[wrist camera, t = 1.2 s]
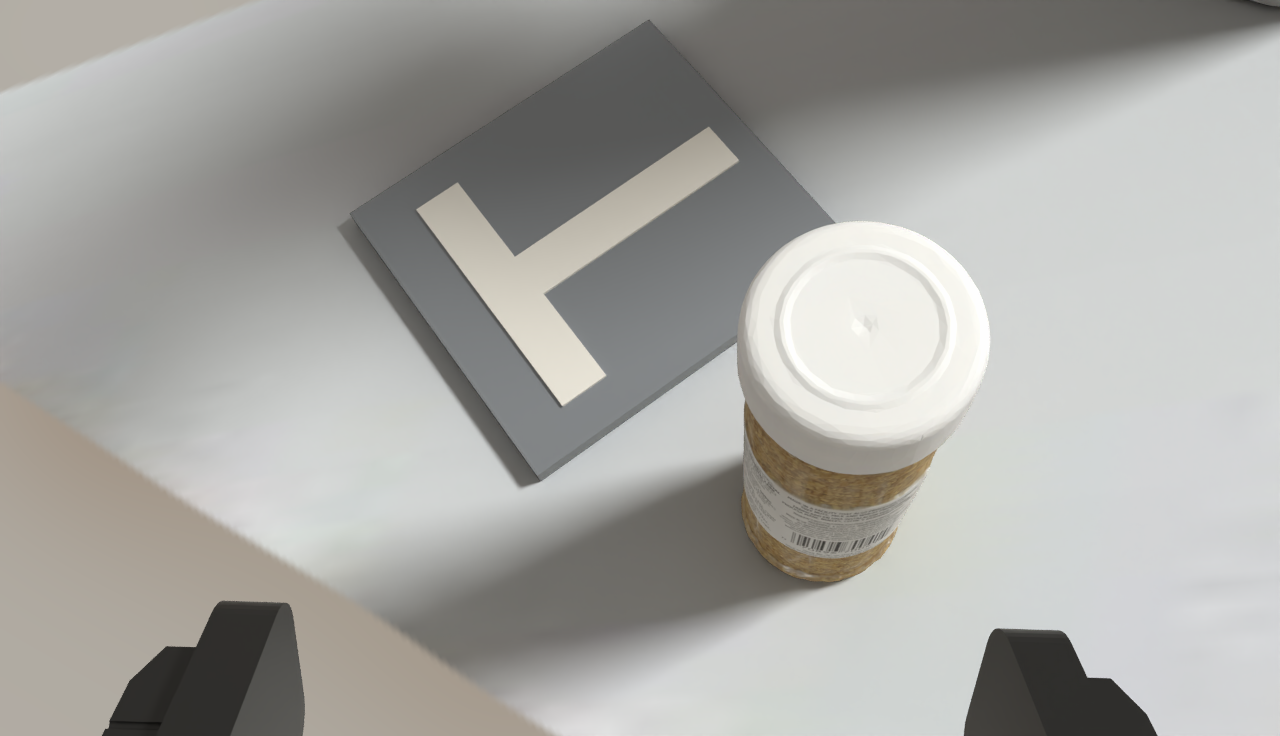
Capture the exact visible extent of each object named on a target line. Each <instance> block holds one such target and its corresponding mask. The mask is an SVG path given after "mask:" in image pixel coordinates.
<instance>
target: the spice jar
mask: <svg viewBox="0 0 1280 736" xmlns="http://www.w3.org/2000/svg"><path fill="white" fill-rule="evenodd" d="M989 350H990V329H989V322H988V317H987V313H986V309H985V306H984V303H983V300H982V298H981V295H980V292H979V290H978V289H977V287H976V286H975V284H974V283H973V281H972V279H971V278H970V276H969V275H968V273H967V272H966V271H965V269H964V268H963V267H962V266H961V265H960V264H959V263H958V262H957V261H956V260H955V259H954V258H953V257H952V256H951V255H950V254H949V253H948V252H947V251H945V250H944V249H943V248H942V247H940V246H939V245H937V244H936V243H934V242H933V241H931V240H929V239H928V238H926V237H924V236H922V235H920V234H918V233H916V232H913V231H910V230H908V229H905V228H902V227H899V226H895V225H890V224H885V223H880V222H869V221H851V222H842V223H836V224H831V225H826V226H823V227H820V228H817V229H814V230H811V231H809V232H807V233H805V234H803V235H801V236H799V237H797V238H795V239H793V240H792V241H790V242H789V243H787V244H785V245H784V246H783V247H781V248H780V249H779V250H778V251H777V252H776V253H775V254H774V255H773V256H771V257H770V258H769V259H768V260H767V261H766V263H765V264H764V265H763V266H762V268H761V269H760V270H759V271H758V273H757V274H756V276H755V277H754V279H753V280H752V282H751V284H750V286H749V288H748V290H747V293H746V295H745V298H744V301H743V304H742V307H741V312H740V318H739V323H738V335H737V366H738V376H739V380H740V384H741V388H742V391H743V394H744V397H745V404H744V460H743V479H744V490H743V494H742V499H741V509H742V517H743V520H744V524H745V528H746V531H747V534H748V536H749V538H750V539H751V541H752V542H753V543H754V545H755V547H756V548H757V550H758V551H759V552H760V553H761V555H762V556H763V557H764V558H765V559H766V560H767V561H768V562H770V563H771V564H772V565H773V566H775V567H777V568H778V569H780V570H781V571H782V572H784V573H787V574H789V575H791V576H793V577H795V578H799V579H806V580H809V581H825V582H834V581H840V580H842V579H845V578H849V577H852V576H855V575H857V574H859V573H861V572H863V571H864V570H866V569H867V568H868V567H869V566H871V565H872V564H873V563H874V562H875V561H877V560H879V559H880V558H881V557H882V555H883V554H884V553H885V551H886V550H887V548H888V547H889V546H890V544H891V542H892V540H893V538H894V536H895V534H896V531H897V528H898V525H899V523H900V522H901V520H902V518H903V517H904V515H905V513H906V511H907V509H908V508H909V506H910V504H911V503H912V501H913V499H914V498H915V496H916V494H917V492H918V490H919V488H920V486H921V485H922V483H923V481H924V479H925V478H926V476H927V473H928V471H929V468H930V464H931V461H932V458H933V456H934V454H935V452H936V450H937V449H938V448H939V447H940V446H941V445H942V444H944V443H945V442H946V440H947V439H948V438H949V437H950V436H951V435H952V434H953V433H954V432H955V431H956V429H957V428H958V427H959V425H960V424H961V422H962V420H963V419H964V417H965V415H966V413H967V412H968V410H969V408H970V406H971V404H972V402H973V400H974V398H975V396H976V393H977V391H978V389H979V387H980V385H981V383H982V380H983V377H984V374H985V371H986V368H987V364H988V358H989Z"/></svg>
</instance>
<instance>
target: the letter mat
mask: <svg viewBox="0 0 1280 736" xmlns="http://www.w3.org/2000/svg"><path fill="white" fill-rule="evenodd" d="M350 215H351V216H352V218H353V219H354V221H355V222H356V224H357V225H358V227H359V228H360V229H361V231H362V232H363V234H364V235H365V236H366V238H367V239H368V241H369V242H370V243H371V245H372V246H373V248H374V249H375V250H376V252H377V253H378V255H379V256H380V257H381V259H382V260H383V262H384V263H385V264H386V266H387V267H388V268H389V270H390V271H391V273H392V274H393V275H394V277H395V278H396V280H397V281H398V282H399V284H400V285H401V287H402V288H403V289H404V291H405V292H406V294H407V295H408V296H409V298H410V299H411V301H412V302H413V303H414V305H415V306H416V308H417V309H418V310H419V312H420V313H421V315H422V316H423V317H424V319H425V320H426V322H427V323H428V324H429V326H430V327H431V329H432V330H433V331H434V333H435V334H436V336H437V337H438V338H439V340H440V341H441V343H442V344H443V345H444V347H445V348H446V350H447V351H448V352H449V354H450V355H451V357H452V358H453V359H454V361H455V362H456V364H457V365H458V366H459V368H460V369H461V371H462V372H463V373H464V375H465V376H466V378H467V379H468V380H469V382H470V383H471V385H472V386H473V387H474V389H475V390H476V392H477V393H478V394H479V396H480V397H481V399H482V400H483V401H484V403H485V404H486V406H487V407H488V408H489V410H490V411H491V413H492V414H493V415H494V417H495V418H496V420H497V421H498V422H499V424H500V425H501V427H502V428H503V429H504V431H505V432H506V434H507V435H508V436H509V438H510V439H511V441H512V442H513V443H514V445H515V446H516V448H517V449H518V450H519V452H520V453H521V455H522V456H523V457H524V459H525V460H526V462H527V463H528V464H529V466H530V467H531V469H532V470H533V471H534V473H535V474H536V475H537V477H538V478H539V480H540V481H542V480H543V479H545V478H546V477H547V476H549V475H550V474H552V473H553V472H555V471H556V470H557V469H559V468H560V467H562V466H563V465H564V464H566V463H567V462H569V461H570V460H571V459H573V458H574V457H576V456H577V455H578V454H580V453H581V452H583V451H584V450H585V449H587V448H588V447H590V446H591V445H593V444H594V443H595V442H597V441H598V440H600V439H601V438H602V437H604V436H605V435H607V434H608V433H609V432H611V431H612V430H614V429H615V428H616V427H618V426H619V425H621V424H622V423H624V422H625V421H626V420H628V419H629V418H631V417H632V416H633V415H635V414H636V413H638V412H639V411H640V410H642V409H643V408H645V407H646V406H647V405H649V404H650V403H652V402H653V401H654V400H656V399H657V398H659V397H660V396H662V395H663V394H664V393H666V392H667V391H669V390H670V389H671V388H673V387H674V386H676V385H677V384H678V383H680V382H681V381H683V380H684V379H685V378H687V377H688V376H690V375H691V374H693V373H694V372H695V371H697V370H698V369H700V368H701V367H702V366H704V365H705V364H707V363H708V362H709V361H711V360H712V359H714V358H715V357H716V356H718V355H719V354H721V353H722V352H724V351H725V350H726V349H728V348H729V347H731V346H732V345H733V344H735V343H736V342H737V335H738V323H739V318H740V312H741V307H742V304H743V301H744V298H745V295H746V293H747V290H748V288H749V286H750V284H751V282H752V280H753V279H754V277H755V276H756V274H757V273H758V271H759V270H760V269H761V268H762V266H763V265H764V264H765V263H766V261H767V260H768V259H769V258H770V257H771V256H773V255H774V254H775V253H776V252H777V251H778V250H779V249H780V248H781V247H783V246H784V245H785V244H787V243H789V242H790V241H792V240H793V239H795V238H797V237H799V236H801V235H803V234H805V233H807V232H809V231H811V230H814V229H817V228H820V227H823V226H826V225H831V224H836V223H835V222H834V221H833V220H832V219H831V218H830V217H829V215H828V214H827V213H826V212H825V211H824V210H823V209H822V208H821V207H820V206H819V205H818V203H817V202H816V201H815V200H814V199H813V198H812V197H811V196H810V195H809V194H808V193H807V191H806V190H805V189H804V188H803V187H802V186H801V185H800V184H799V183H798V182H797V181H796V179H795V178H794V177H793V176H792V175H791V174H790V173H789V172H788V171H787V170H786V169H785V167H784V166H783V165H782V164H781V163H780V162H779V161H778V160H777V159H776V158H775V157H774V155H773V154H772V153H771V152H770V151H769V150H768V149H767V148H766V147H765V146H764V145H763V143H762V142H761V141H760V140H759V139H758V138H757V137H756V136H755V135H754V134H753V133H752V131H751V130H750V129H749V128H748V127H747V126H746V125H745V124H744V123H743V122H742V121H741V119H740V118H739V117H738V116H737V115H736V114H735V113H734V112H733V111H732V110H731V109H730V107H729V106H728V105H727V104H726V103H725V102H724V101H723V100H722V99H721V98H720V97H719V95H718V94H717V93H716V92H715V91H714V90H713V89H712V88H711V87H710V86H709V85H708V83H707V82H706V81H705V80H704V79H703V78H702V77H701V76H700V75H699V74H698V73H697V71H696V70H695V69H694V68H693V67H692V66H691V65H690V64H689V63H688V62H687V61H686V59H685V58H684V57H683V56H682V55H681V54H680V53H679V52H678V51H677V50H676V48H675V47H674V46H673V45H672V44H671V43H670V42H669V41H668V40H667V39H666V38H665V36H664V35H663V34H662V33H661V32H660V31H659V30H658V29H657V28H656V27H655V26H654V24H653V23H652V22H651V21H650V20H648V21H646V22H645V23H643V24H641V25H640V26H638V27H637V28H635V29H634V30H632V31H631V32H629V33H628V34H626V35H624V36H623V37H621V38H620V39H618V40H617V41H615V42H614V43H612V44H611V45H609V46H607V47H606V48H604V49H603V50H601V51H600V52H598V53H597V54H595V55H594V56H592V57H591V58H589V59H587V60H586V61H584V62H583V63H581V64H580V65H578V66H577V67H575V68H574V69H572V70H570V71H569V72H567V73H566V74H564V75H563V76H561V77H560V78H558V79H557V80H555V81H553V82H552V83H550V84H549V85H547V86H546V87H544V88H543V89H541V90H540V91H538V92H536V93H535V94H533V95H532V96H530V97H529V98H527V99H526V100H524V101H523V102H521V103H520V104H518V105H516V106H515V107H513V108H512V109H510V110H509V111H507V112H506V113H504V114H503V115H501V116H499V117H498V118H496V119H495V120H493V121H492V122H490V123H489V124H487V125H486V126H484V127H482V128H481V129H479V130H478V131H476V132H475V133H473V134H472V135H470V136H469V137H467V138H466V139H464V140H462V141H461V142H459V143H458V144H456V145H455V146H453V147H452V148H450V149H449V150H447V151H445V152H444V153H442V154H441V155H439V156H438V157H436V158H435V159H433V160H432V161H430V162H428V163H427V164H425V165H424V166H422V167H421V168H419V169H418V170H416V171H415V172H413V173H411V174H410V175H408V176H407V177H405V178H404V179H402V180H401V181H399V182H398V183H396V184H395V185H393V186H391V187H390V188H388V189H387V190H385V191H384V192H382V193H381V194H379V195H378V196H376V197H374V198H373V199H371V200H370V201H368V202H367V203H365V204H364V205H362V206H361V207H359V208H357V209H356V210H354V211H353V212H351V213H350Z"/></svg>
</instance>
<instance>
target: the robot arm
mask: <svg viewBox="0 0 1280 736" xmlns="http://www.w3.org/2000/svg"><path fill="white" fill-rule="evenodd" d="M1251 1H1255V2H1258V3H1262V4H1265V5H1269V6H1278V7H1280V0H1251ZM301 678H302V677H301V670H300V663H299V656H298V649H297V641H296V635H295V627H294V620H293V614H292V610H291V607H290V605H289V604H287V603H273V602H242V601H241V602H240V601H221V602H219V603H218V604H217V605H216V607H215V608H214V610H213V612H212V613H211V616H210V618H209V620H208V622H207V624H206V627H205V629H204V631H203V633H202V635H201V638H200V640H199V642H198V644H197V646H196V647H168V646H167V647H165V648H164V649H163V650H162V651H161V652H160V653H159V654H158V655H157V656H156V657H155V658H154V659H153V660H152V661H150V662H149V663H148V664H147V665H146V666H145V667H144V668H143V669H142V670H141V671H140V672H139V673H138V674H136V675H135V676H134V677H133V678H132V679H131V680H130V681H129V683H128V686H127V687H126V689H125V691H124V693H123V695H122V697H121V699H120V701H119V703H118V705H117V707H116V709H115V711H114V713H113V715H112V717H111V719H110V725H109V728H108V729H105V731H104V733H103V735H102V736H302V735H303V727H304V715H305V714H304V713H305V704H304V692H303V685H302V679H301ZM964 736H1157V734H1156V732H1155V730H1154V728H1153V726H1152V724H1151V722H1150V720H1149V718H1148V716H1147V714H1146V713H1145V712H1144V711H1143V710H1142V709H1141V708H1140V707H1139V706H1138V705H1137V704H1136V703H1135V702H1134V701H1133V700H1132V699H1131V698H1130V697H1129V696H1128V695H1127V694H1126V693H1125V692H1124V691H1123V690H1122V689H1121V688H1120V687H1119V686H1118V685H1117V684H1116V683H1115V682H1114V681H1113V680H1112V679H1110V678H1087V676H1086V674H1085V672H1084V669H1083V667H1082V665H1081V663H1080V661H1079V659H1078V657H1077V654H1076V652H1075V650H1074V648H1073V646H1072V644H1071V642H1070V640H1069V638H1068V637H1067V636H1066V634H1065V633H1063V632H1062V631H1058V630H1027V629H995V630H993V632H992V633H991V635H990V636H989V639H988V642H987V645H986V649H985V653H984V656H983V660H982V663H981V667H980V671H979V674H978V678H977V681H976V685H975V689H974V692H973V696H972V699H971V703H970V706H969V710H968V714H967V717H966V722H965V729H964Z"/></svg>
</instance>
